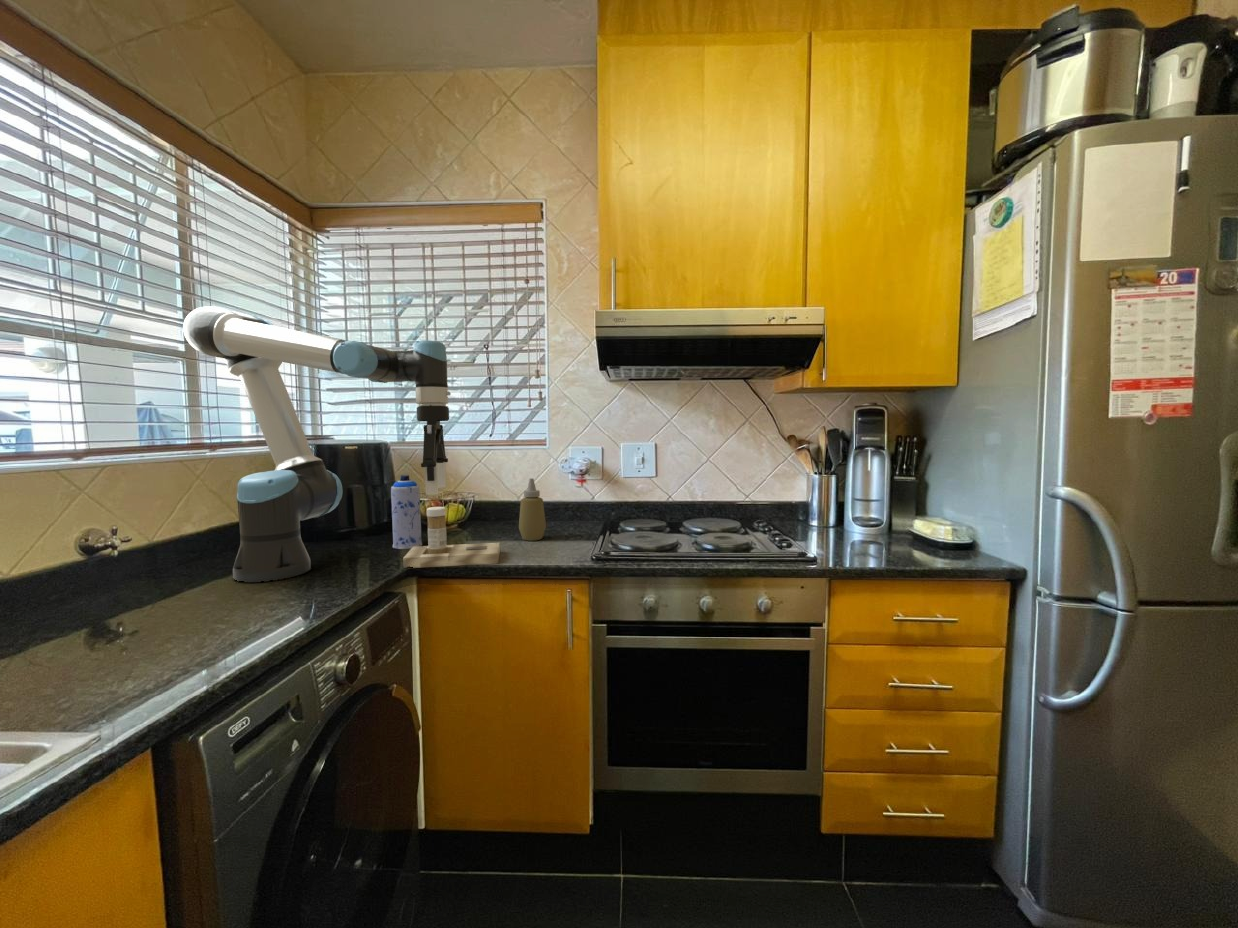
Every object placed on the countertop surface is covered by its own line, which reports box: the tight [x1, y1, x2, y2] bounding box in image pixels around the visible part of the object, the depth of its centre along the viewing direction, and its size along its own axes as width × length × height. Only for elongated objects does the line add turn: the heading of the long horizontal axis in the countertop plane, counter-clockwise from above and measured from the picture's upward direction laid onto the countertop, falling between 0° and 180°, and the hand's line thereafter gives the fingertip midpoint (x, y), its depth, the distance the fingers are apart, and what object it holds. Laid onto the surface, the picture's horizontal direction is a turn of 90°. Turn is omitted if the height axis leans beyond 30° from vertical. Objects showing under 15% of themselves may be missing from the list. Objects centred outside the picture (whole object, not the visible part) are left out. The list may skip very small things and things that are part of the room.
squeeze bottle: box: [518, 478, 547, 542], centre depth 157 cm, size 8×8×18 cm
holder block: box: [402, 542, 501, 569], centre depth 135 cm, size 22×12×3 cm, turn 101°
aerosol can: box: [390, 474, 423, 550], centre depth 150 cm, size 8×8×20 cm
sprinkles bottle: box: [426, 506, 448, 554], centre depth 133 cm, size 5×5×14 cm
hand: (436, 491), depth 133 cm, fingers open, 13 cm apart
